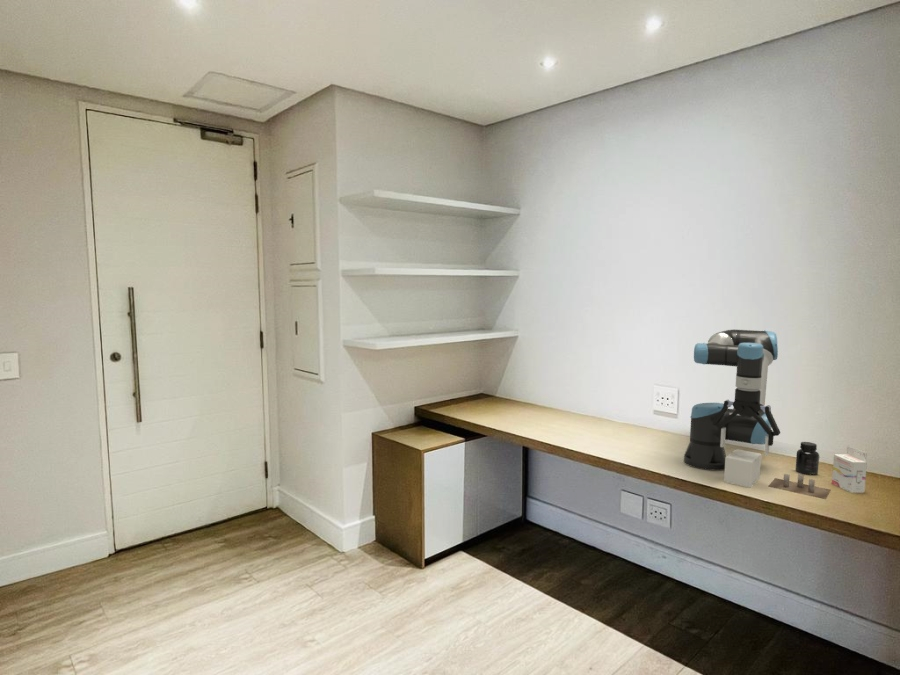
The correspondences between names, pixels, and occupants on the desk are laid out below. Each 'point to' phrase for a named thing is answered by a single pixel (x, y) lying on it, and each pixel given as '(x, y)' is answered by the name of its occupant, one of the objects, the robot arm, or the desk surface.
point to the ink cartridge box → (850, 470)
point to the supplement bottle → (807, 459)
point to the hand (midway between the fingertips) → (744, 450)
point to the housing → (742, 468)
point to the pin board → (799, 490)
